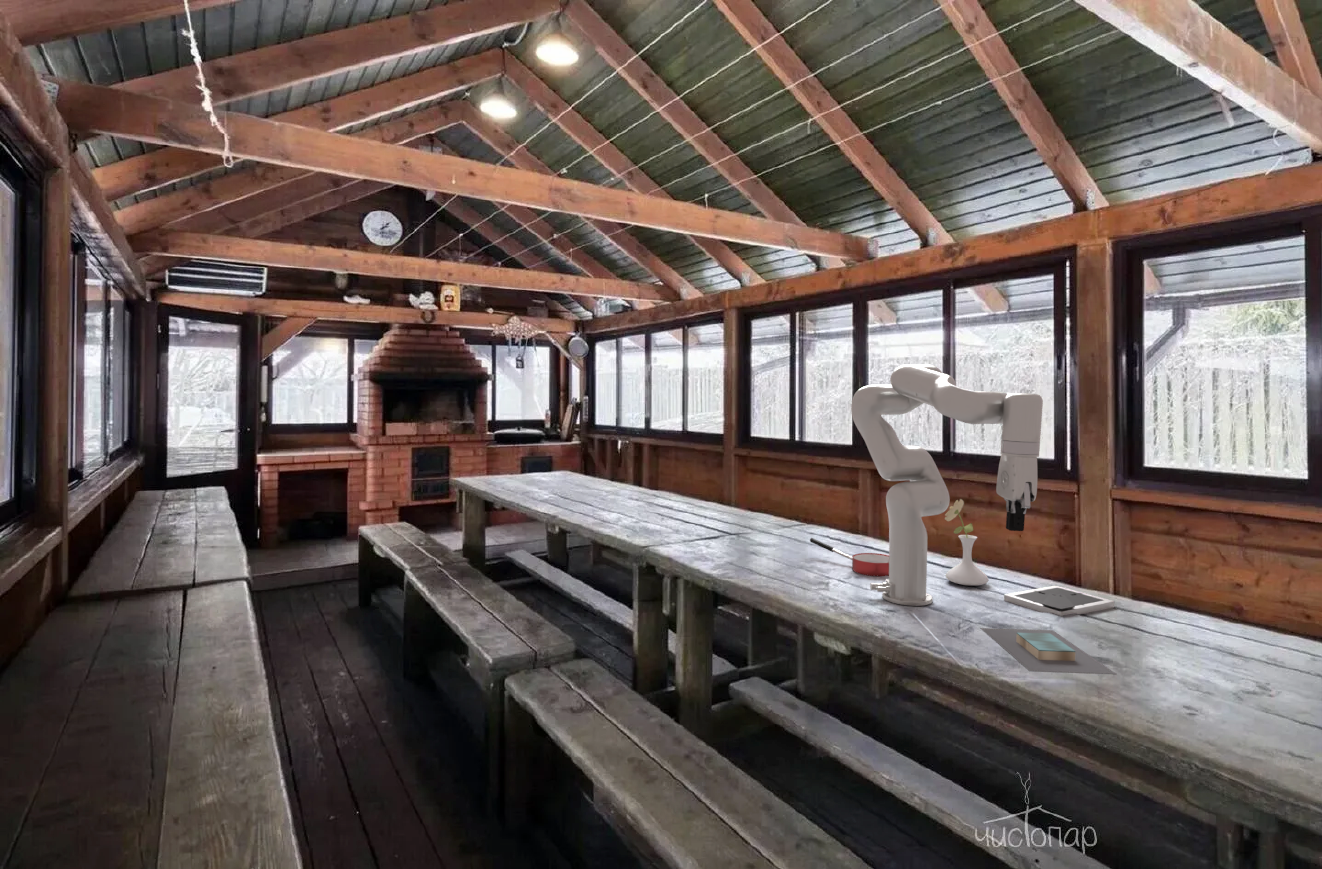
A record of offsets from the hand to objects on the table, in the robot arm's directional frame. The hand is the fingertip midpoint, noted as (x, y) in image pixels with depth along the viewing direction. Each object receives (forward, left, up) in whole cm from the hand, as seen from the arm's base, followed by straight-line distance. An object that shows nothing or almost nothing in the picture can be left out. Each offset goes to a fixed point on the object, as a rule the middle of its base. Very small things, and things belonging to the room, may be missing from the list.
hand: (1014, 529), depth 145 cm
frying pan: (-25, +61, -25) cm, 70 cm away
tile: (+2, -5, -23) cm, 23 cm away
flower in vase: (+5, +43, -25) cm, 50 cm away
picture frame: (+23, +26, -25) cm, 42 cm away
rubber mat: (+2, -9, -24) cm, 26 cm away
